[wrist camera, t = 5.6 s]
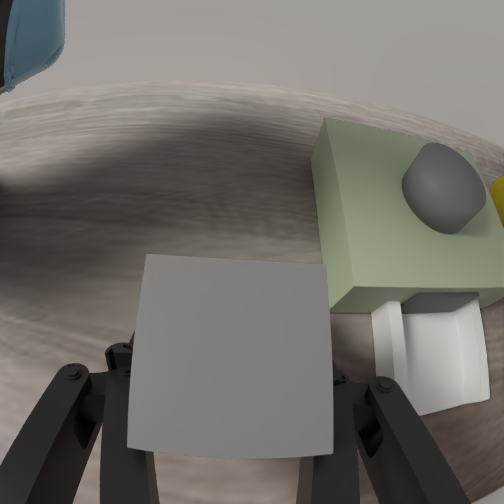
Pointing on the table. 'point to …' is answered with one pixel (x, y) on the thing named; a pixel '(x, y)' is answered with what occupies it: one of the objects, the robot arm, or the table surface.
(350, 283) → the green block with knob
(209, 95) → the table surface
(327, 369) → the gray capped pillar
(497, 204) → the lemon
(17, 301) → the table surface
